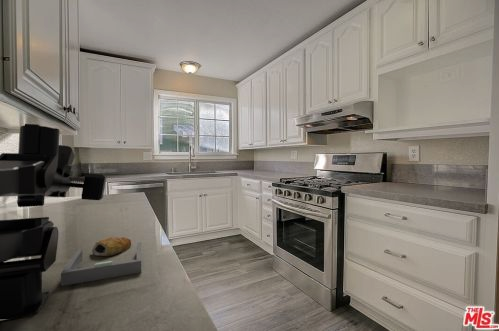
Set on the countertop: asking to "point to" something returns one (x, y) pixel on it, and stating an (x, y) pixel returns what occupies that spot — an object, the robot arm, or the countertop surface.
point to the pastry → (111, 246)
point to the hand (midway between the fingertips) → (68, 185)
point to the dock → (98, 269)
